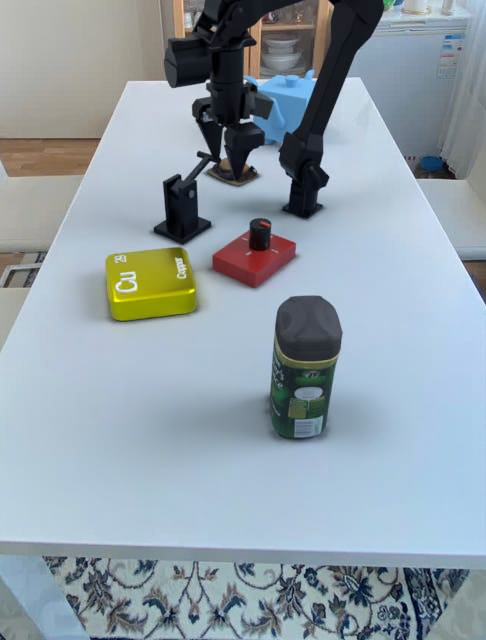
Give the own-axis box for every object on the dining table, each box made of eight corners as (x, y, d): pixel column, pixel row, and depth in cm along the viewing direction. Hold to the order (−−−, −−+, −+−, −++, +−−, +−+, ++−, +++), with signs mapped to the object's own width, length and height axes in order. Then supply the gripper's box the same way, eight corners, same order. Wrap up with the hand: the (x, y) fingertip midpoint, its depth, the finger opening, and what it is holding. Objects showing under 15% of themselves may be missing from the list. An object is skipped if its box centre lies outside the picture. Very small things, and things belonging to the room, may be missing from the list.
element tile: (198, 312, 97) (197, 289, 94) (112, 323, 96) (107, 300, 92) (186, 265, 107) (185, 242, 104) (108, 274, 106) (103, 251, 102)
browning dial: (244, 246, 106) (245, 222, 102) (257, 237, 108) (258, 214, 104) (261, 253, 104) (263, 229, 100) (274, 244, 106) (276, 220, 102)
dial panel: (253, 240, 113) (253, 225, 110) (295, 256, 108) (296, 242, 106) (212, 269, 106) (212, 254, 104) (255, 288, 102) (255, 273, 99)
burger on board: (204, 174, 133) (203, 158, 131) (228, 162, 137) (228, 147, 134) (237, 188, 128) (237, 172, 125) (261, 175, 132) (262, 159, 129)
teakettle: (333, 150, 141) (342, 85, 130) (261, 158, 138) (264, 93, 127) (307, 122, 153) (313, 60, 142) (240, 129, 150) (242, 67, 140)
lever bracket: (182, 215, 120) (179, 167, 113) (211, 226, 117) (210, 178, 109) (153, 232, 116) (148, 183, 108) (183, 245, 112) (179, 195, 105)
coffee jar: (265, 392, 84) (273, 288, 70) (318, 391, 84) (336, 286, 70) (271, 443, 77) (281, 339, 64) (329, 441, 77) (351, 337, 64)
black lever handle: (201, 156, 114) (198, 146, 112) (222, 163, 112) (220, 153, 110) (167, 195, 112) (163, 186, 110) (188, 203, 109) (184, 194, 107)
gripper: (295, 87, 92) (287, 180, 103) (244, 56, 103) (242, 143, 115) (234, 98, 89) (233, 193, 100) (189, 65, 101) (192, 153, 112)
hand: (226, 169), depth 107 cm, fingers open, 9 cm apart
